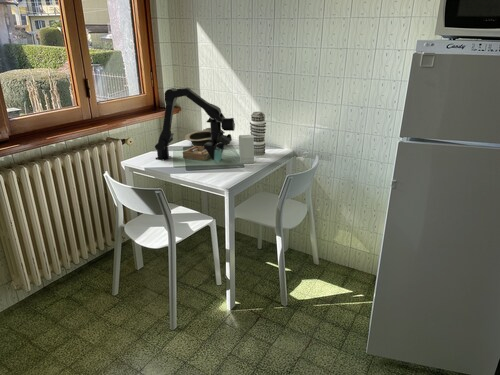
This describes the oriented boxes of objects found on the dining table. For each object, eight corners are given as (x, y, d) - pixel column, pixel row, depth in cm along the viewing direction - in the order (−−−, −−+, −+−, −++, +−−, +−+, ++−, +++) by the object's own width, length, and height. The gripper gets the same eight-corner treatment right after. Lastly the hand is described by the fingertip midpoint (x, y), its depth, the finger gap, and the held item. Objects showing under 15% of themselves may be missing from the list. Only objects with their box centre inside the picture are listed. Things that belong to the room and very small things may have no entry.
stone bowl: (231, 142, 251) (230, 128, 247) (208, 155, 232) (207, 140, 228) (201, 137, 263) (200, 123, 259) (177, 148, 244) (175, 134, 240)
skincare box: (254, 160, 216) (253, 134, 211) (254, 163, 211) (254, 137, 205) (239, 160, 216) (238, 134, 211) (239, 163, 211) (238, 137, 205)
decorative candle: (263, 158, 220) (263, 114, 210) (248, 156, 222) (247, 113, 213) (267, 153, 228) (268, 111, 218) (253, 152, 230) (252, 110, 221)
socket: (203, 156, 221) (202, 151, 220) (192, 155, 224) (191, 150, 223) (207, 154, 225) (207, 149, 224) (196, 153, 228) (196, 148, 227)
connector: (218, 161, 215) (218, 149, 212) (212, 160, 216) (211, 148, 214) (221, 159, 218) (221, 147, 216) (215, 158, 220) (215, 146, 217)
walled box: (204, 160, 216) (203, 154, 215) (183, 157, 221) (182, 151, 220) (216, 153, 228) (215, 148, 227) (195, 151, 233) (195, 145, 232)
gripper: (221, 135, 200) (222, 164, 206) (236, 127, 216) (236, 154, 222) (202, 133, 204) (203, 161, 210) (218, 126, 220) (219, 152, 226)
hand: (216, 157), depth 217 cm, fingers open, 9 cm apart
